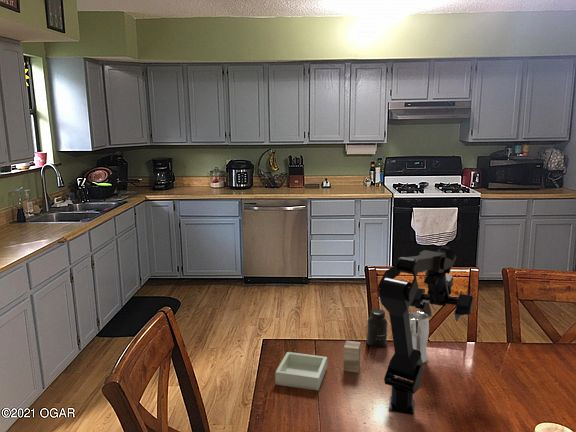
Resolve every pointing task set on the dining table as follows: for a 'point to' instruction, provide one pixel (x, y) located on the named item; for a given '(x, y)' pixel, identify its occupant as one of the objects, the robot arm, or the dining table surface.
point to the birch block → (352, 356)
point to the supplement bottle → (377, 329)
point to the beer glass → (419, 332)
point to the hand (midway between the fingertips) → (443, 317)
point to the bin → (301, 371)
